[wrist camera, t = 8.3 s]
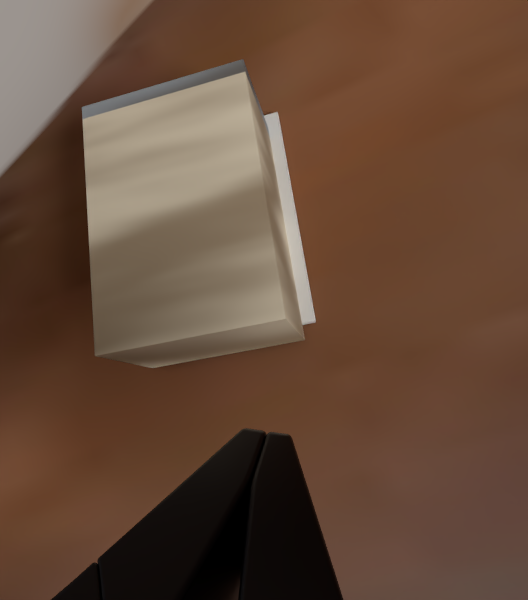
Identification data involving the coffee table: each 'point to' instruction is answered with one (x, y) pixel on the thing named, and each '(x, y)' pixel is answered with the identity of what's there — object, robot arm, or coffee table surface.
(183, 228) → the birch block
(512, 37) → the coffee table surface
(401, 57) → the coffee table surface
